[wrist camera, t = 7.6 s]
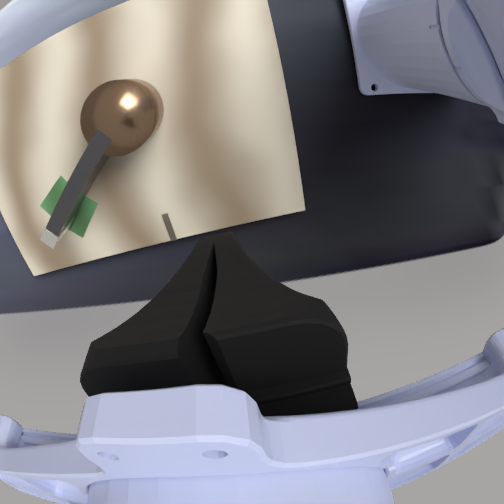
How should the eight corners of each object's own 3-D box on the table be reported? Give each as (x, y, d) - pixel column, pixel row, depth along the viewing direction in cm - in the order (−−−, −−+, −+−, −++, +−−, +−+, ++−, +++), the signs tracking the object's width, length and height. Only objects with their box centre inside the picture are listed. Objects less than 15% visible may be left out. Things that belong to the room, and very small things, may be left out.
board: (257, -24, 13) (259, -31, 12) (301, 203, 22) (305, 210, 21) (-28, 96, 14) (-38, 99, 12) (39, 267, 22) (33, 276, 21)
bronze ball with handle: (125, 66, 14) (108, 65, 12) (177, 103, 16) (170, 108, 13) (42, 208, 18) (23, 227, 16) (85, 238, 20) (71, 261, 17)
